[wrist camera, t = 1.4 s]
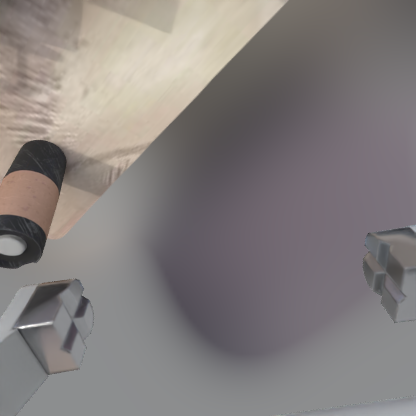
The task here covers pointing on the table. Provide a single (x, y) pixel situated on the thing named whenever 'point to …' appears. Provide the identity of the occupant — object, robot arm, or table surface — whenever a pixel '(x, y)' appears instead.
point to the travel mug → (29, 202)
